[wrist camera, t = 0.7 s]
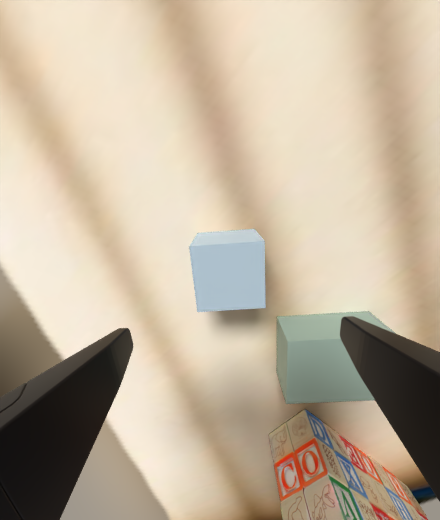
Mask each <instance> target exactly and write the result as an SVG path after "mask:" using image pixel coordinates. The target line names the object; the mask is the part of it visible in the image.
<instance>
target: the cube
mask: <svg viewBox="0 0 440 520" xmlns="http://www.w3.org/2000/svg"><path fill="white" fill-rule="evenodd" d="M189 248H190V256H191V264H192V272H193V280H194V288H195V296H196V304H197V312H207V311H223V310H240V309H257V308H266V306H265V241H264V240H263V239H262V237H261V236H260V235H259V234H258V233H257V231H256V230H255V229H245V230H231V231H218V232H204V233H198V234H197V235H196V237H195V238H194V240H193V241H192V243H191V244H190V246H189Z"/></svg>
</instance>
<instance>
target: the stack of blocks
mask: <svg viewBox="0 0 440 520" xmlns="http://www.w3.org/2000/svg"><path fill="white" fill-rule="evenodd" d="M269 440H270V446H271V451H272V456H273V461H274V469H275V474H276V480H277V485H278V491H279V496H280V500H281V505H280V506H281V513H282V518H283V520H428V519H427V517H426V514H425V513H424V511H423V510H422V508H421V507H420V505H419V504H418V502H417V501H416V499H415V497H414V496H413V494H412V493H411V491H410V490H409V488H408V487H407V486H406V485H405V484H404V483H402V482H401V481H400V480H398V479H397V478H396V477H395V476H394V475H393V474H392V473H390V472H389V471H388V470H386V469H385V468H384V467H382V466H381V465H380V464H379V463H377V462H376V461H375V460H373V459H372V458H371V457H369V456H367V455H365V454H364V453H363V452H361V451H360V450H359V449H357V448H356V447H355V446H353V445H351V444H350V443H349V442H348V441H346V440H345V439H343V438H342V437H341V436H340V435H338V433H337V432H335V431H334V430H333V429H331V428H330V427H329V426H327V425H326V424H325V423H323V422H321V420H319V419H318V418H317V417H315V416H314V415H313V414H311V413H310V412H309V411H307V410H306V409H304V410H303V411H301V412H300V413H299V414H297V415H296V416H294V417H293V418H291V419H290V420H289V421H287V422H286V423H284V424H283V425H281V426H280V427H278V428H277V429H276V430H274V431H273V432H272V433H270V434H269Z"/></svg>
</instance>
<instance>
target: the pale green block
mask: <svg viewBox="0 0 440 520" xmlns="http://www.w3.org/2000/svg"><path fill="white" fill-rule="evenodd" d="M344 316H354V317H357V318H359V319H362V320H364V321H366V322H369V323H371V324H373V325H376V326H378V327H381V328H383V329H385V330H388V331H390V332H393V333H395V332H394V331H392V330H391V329H390V328H389V327H387V326H386V325H385V324H384V323H382V322H381V321H380V320H379V319H378V318H376V317H375V316H374V315H373V314H371V313H370V312H369V311H365V312H347V313H330V314H312V315H295V316H277V375H278V378H279V382H280V385H281V388H282V392H283V395H284V398H285V402H286V404H295V403H319V402H342V401H365V400H375V399H374V398H373V396H372V395H371V393H370V391H369V390H368V388H367V387H366V385H365V384H364V382H363V380H362V379H361V377H360V375H359V374H358V372H357V370H356V368H355V366H354V364H353V362H352V360H351V358H350V356H349V354H348V352H347V350H346V348H345V347H344V345H343V343H342V341H341V338H340V326H341V319H342V317H344ZM395 334H396V333H395Z"/></svg>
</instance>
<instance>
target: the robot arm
mask: <svg viewBox="0 0 440 520" xmlns="http://www.w3.org/2000/svg"><path fill="white" fill-rule="evenodd" d="M340 338H341V341H342V343H343V345H344V347H345V348H346V350H347V352H348V354H349V356H350V358H351V360H352V362H353V364H354V366H355V368H356V370H357V372H358V374H359V375H360V377H361V379H362V380H363V382H364V384H365V385H366V387H367V388H368V390H369V391H370V393H371V395H372V396H373V398H374V399H375V401H376V402H377V404H378V406H379V407H380V409H381V410H382V412H383V413H384V415H385V416H386V418H387V420H388V421H389V423H390V424H391V426H392V427H393V429H394V431H395V432H396V434H397V435H398V437H399V438H400V440H401V442H402V443H403V445H404V446H405V448H406V449H407V451H408V453H409V454H410V456H411V457H412V459H413V460H414V462H415V464H416V465H417V467H418V468H419V470H420V471H421V473H422V475H423V476H424V478H425V479H426V481H427V482H428V484H429V486H430V487H431V489H432V490H433V492H434V493H435V495H436V497H437V498H438V500H439V501H440V352H438V351H436V350H433V349H431V348H428V347H426V346H424V345H421V344H419V343H417V342H414V341H412V340H409V339H407V338H405V337H402V336H400V335H397V334H395V333H393V332H390V331H388V330H385V329H383V328H381V327H378V326H376V325H373V324H371V323H369V322H366V321H364V320H362V319H359V318H357V317H354V316H344V317H342V319H341V326H340ZM132 350H133V341H132V337H131V333H130V330H129V329H128V328H119V329H117V330H115V331H114V332H112V333H110V334H108V335H107V336H105V337H103V338H102V339H100V340H98V341H96V342H95V343H93V344H91V345H89V346H88V347H86V348H84V349H83V350H81V351H79V352H77V353H76V354H74V355H72V356H71V357H69V358H67V359H65V360H64V361H62V362H60V363H59V364H57V365H55V366H53V367H52V368H50V369H48V370H47V371H45V372H43V373H41V374H40V375H38V376H36V377H35V378H33V379H31V380H30V381H28V382H27V383H24V384H22V385H21V386H19V387H17V388H16V389H14V390H12V391H10V392H9V393H7V394H5V395H3V396H2V397H0V520H60V517H61V515H62V513H63V511H64V509H65V507H66V504H67V502H68V500H69V498H70V496H71V493H72V491H73V489H74V487H75V485H76V482H77V480H78V478H79V476H80V474H81V471H82V469H83V467H84V465H85V463H86V460H87V458H88V456H89V454H90V451H91V449H92V447H93V445H94V443H95V440H96V438H97V436H98V434H99V431H100V429H101V427H102V425H103V423H104V421H105V418H106V416H107V414H108V412H109V410H110V407H111V405H112V403H113V401H114V399H115V396H116V394H117V392H118V390H119V387H120V385H121V382H122V380H123V377H124V374H125V371H126V368H127V365H128V362H129V359H130V356H131V353H132Z"/></svg>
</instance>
